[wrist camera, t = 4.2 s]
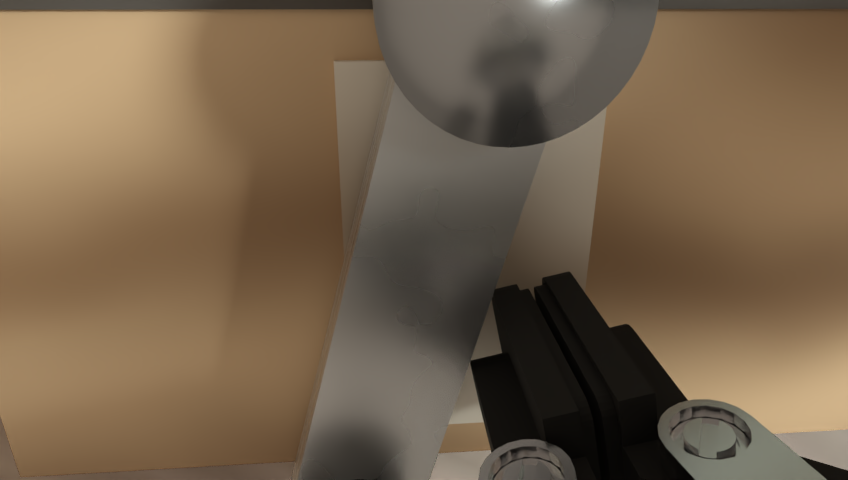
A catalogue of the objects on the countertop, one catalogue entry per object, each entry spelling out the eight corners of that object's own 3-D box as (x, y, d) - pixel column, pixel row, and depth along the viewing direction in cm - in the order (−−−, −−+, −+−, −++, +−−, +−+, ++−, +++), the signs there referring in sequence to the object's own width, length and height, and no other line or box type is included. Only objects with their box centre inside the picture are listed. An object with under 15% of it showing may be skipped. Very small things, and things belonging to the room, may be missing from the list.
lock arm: (401, -154, 9) (425, -253, 5) (614, -83, 10) (768, -127, 6) (262, 484, 14) (221, 675, 10) (413, 505, 15) (429, 692, 11)
